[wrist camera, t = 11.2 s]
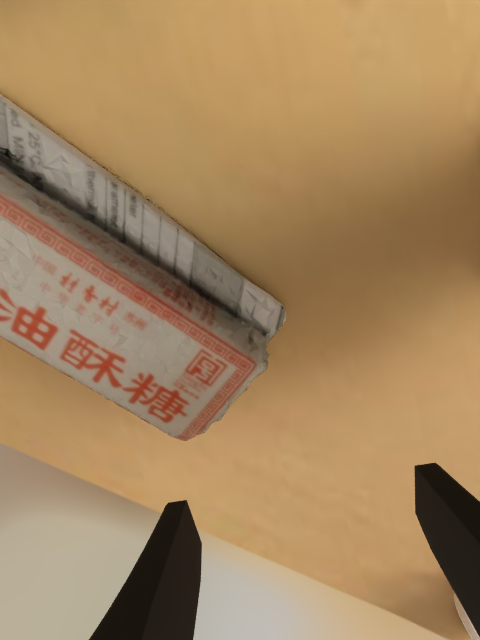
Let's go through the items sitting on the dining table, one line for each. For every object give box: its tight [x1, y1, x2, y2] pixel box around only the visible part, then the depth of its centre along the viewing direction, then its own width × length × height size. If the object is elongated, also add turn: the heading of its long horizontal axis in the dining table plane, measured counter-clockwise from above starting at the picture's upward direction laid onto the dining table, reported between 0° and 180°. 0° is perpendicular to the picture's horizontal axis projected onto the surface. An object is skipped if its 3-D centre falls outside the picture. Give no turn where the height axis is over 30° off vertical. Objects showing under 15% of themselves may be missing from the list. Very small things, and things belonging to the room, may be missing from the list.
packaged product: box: [0, 95, 286, 441], centre depth 17 cm, size 18×5×10 cm
